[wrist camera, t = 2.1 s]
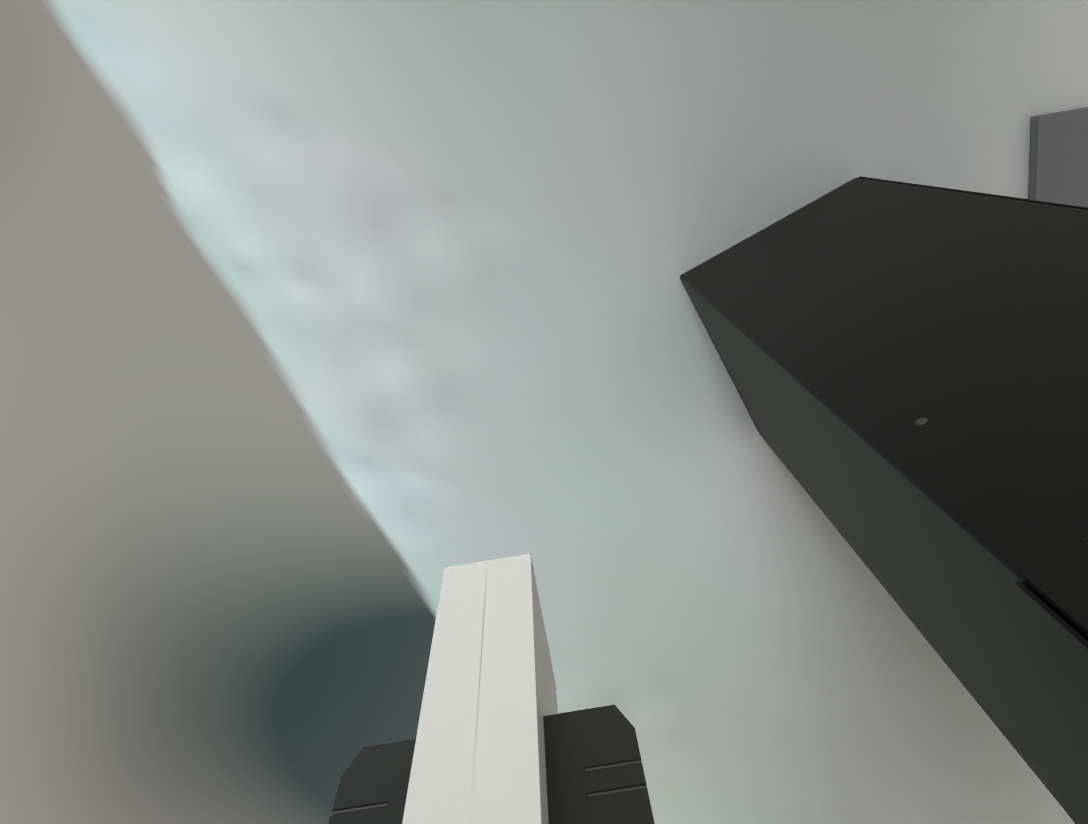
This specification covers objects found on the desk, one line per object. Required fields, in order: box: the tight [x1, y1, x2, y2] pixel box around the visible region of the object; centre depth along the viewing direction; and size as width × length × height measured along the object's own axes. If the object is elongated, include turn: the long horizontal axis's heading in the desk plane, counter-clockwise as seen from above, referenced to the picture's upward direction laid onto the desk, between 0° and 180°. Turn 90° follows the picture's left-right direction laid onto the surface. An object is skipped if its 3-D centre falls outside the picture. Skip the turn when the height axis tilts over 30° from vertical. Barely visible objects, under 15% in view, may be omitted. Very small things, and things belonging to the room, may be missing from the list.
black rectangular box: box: [680, 177, 1088, 824], centre depth 20 cm, size 8×8×28 cm
